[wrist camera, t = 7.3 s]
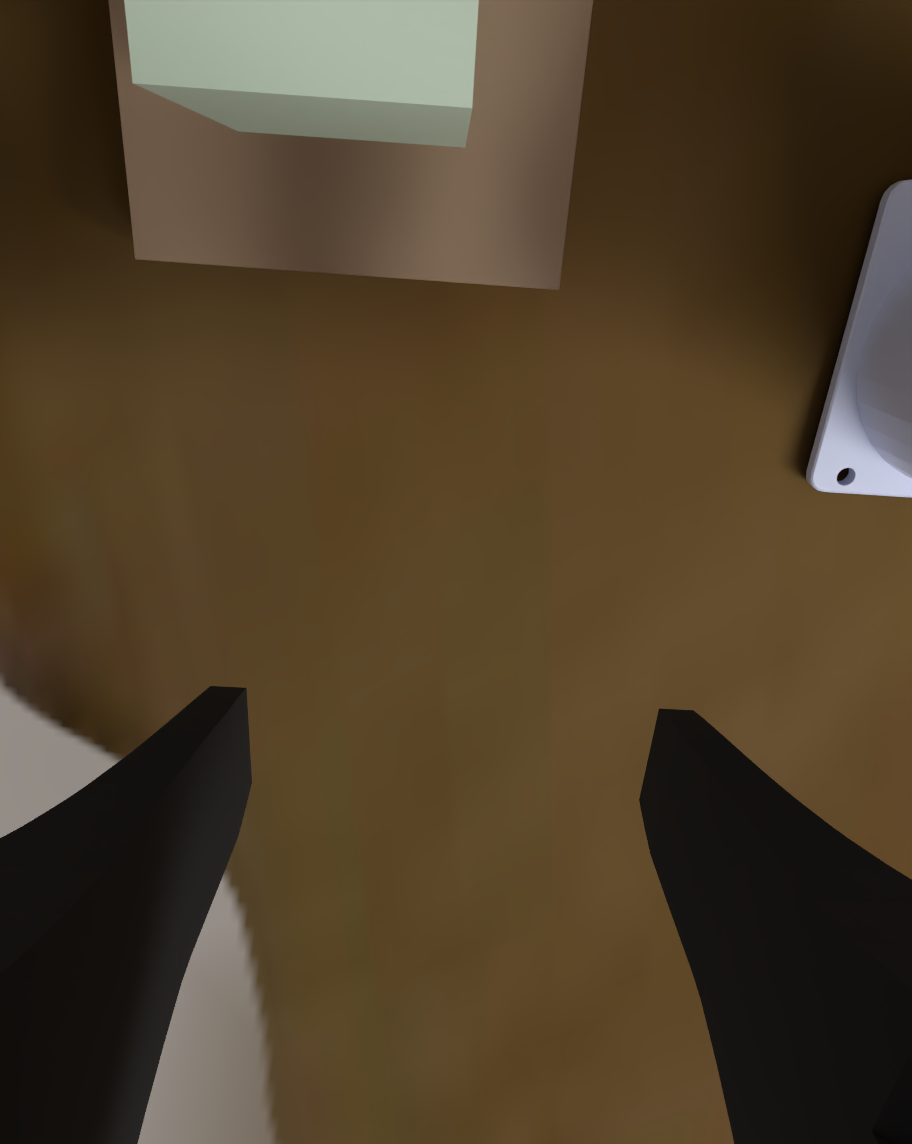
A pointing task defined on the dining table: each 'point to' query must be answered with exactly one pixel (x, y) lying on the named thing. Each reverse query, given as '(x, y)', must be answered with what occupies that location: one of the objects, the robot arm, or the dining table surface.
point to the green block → (313, 65)
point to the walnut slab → (375, 172)
